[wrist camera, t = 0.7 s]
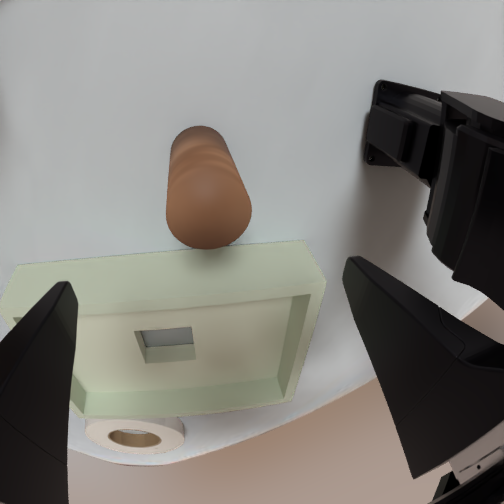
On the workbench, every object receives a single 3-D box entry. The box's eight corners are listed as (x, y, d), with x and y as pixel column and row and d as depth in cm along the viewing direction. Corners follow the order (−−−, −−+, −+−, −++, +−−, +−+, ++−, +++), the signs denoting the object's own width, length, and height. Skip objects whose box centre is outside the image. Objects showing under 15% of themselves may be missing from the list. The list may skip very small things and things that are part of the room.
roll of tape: (69, 419, 38) (68, 435, 36) (121, 391, 35) (121, 411, 32) (143, 445, 47) (144, 459, 45) (204, 422, 44) (206, 438, 41)
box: (303, 240, 25) (326, 281, 21) (280, 365, 36) (291, 401, 32) (17, 264, 21) (-3, 308, 17) (82, 381, 32) (79, 418, 28)
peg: (227, 124, 19) (253, 172, 12) (226, 176, 21) (250, 246, 15) (169, 127, 18) (162, 178, 12) (172, 180, 20) (170, 252, 14)
